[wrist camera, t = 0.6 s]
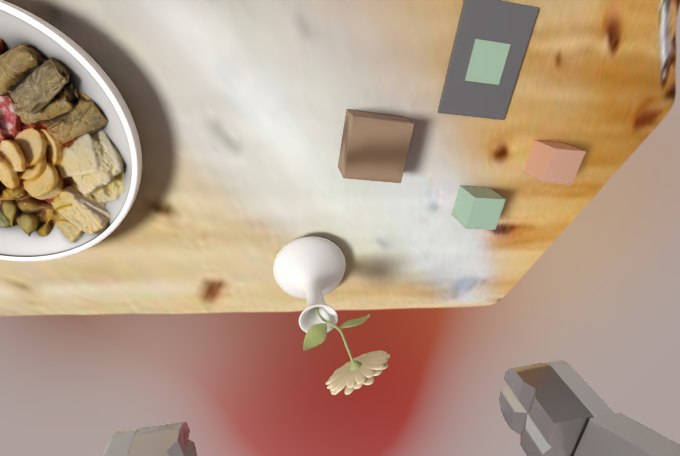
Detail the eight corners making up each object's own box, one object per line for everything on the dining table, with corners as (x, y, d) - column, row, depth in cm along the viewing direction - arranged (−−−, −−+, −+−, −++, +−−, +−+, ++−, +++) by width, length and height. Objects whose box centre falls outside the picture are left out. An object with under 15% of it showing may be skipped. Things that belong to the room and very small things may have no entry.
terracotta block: (533, 139, 56) (556, 148, 52) (562, 142, 57) (586, 151, 53) (522, 171, 58) (542, 182, 54) (549, 173, 59) (572, 184, 55)
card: (465, -5, 45) (468, -6, 45) (536, 8, 47) (540, 7, 47) (437, 112, 52) (439, 113, 51) (501, 119, 54) (504, 120, 53)
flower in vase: (278, 296, 62) (282, 439, 40) (267, 236, 56) (265, 365, 34) (355, 284, 63) (399, 416, 41) (351, 225, 58) (400, 341, 36)
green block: (459, 185, 58) (474, 197, 53) (488, 187, 59) (505, 199, 54) (451, 214, 60) (465, 228, 55) (479, 215, 61) (495, 229, 56)
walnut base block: (346, 109, 50) (353, 116, 45) (402, 116, 51) (414, 123, 47) (337, 166, 53) (343, 178, 49) (390, 171, 55) (400, 183, 50)
